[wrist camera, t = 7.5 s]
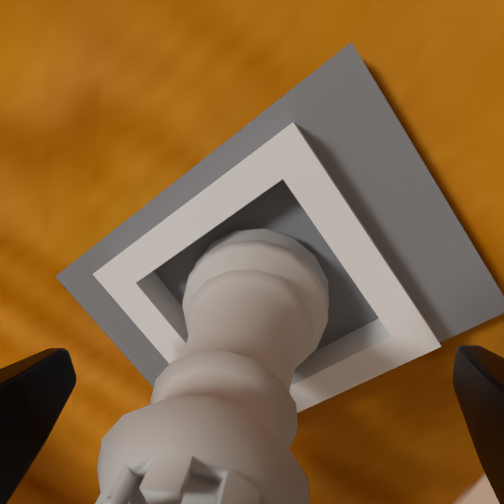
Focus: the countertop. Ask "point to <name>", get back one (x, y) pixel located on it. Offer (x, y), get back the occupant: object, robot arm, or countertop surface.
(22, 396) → the robot arm
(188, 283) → the rook chess piece
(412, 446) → the countertop surface
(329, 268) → the collar plate
